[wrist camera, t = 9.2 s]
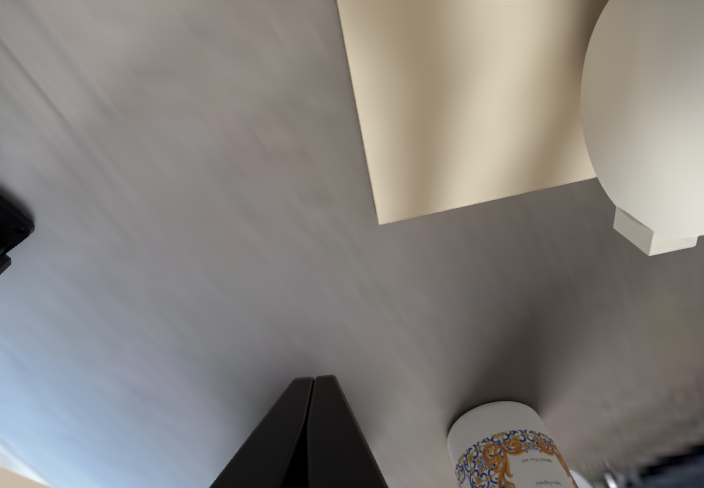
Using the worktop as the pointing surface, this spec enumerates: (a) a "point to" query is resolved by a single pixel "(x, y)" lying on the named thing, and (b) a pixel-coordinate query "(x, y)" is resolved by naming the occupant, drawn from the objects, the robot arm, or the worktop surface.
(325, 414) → the robot arm
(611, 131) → the white oval slab
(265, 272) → the worktop surface
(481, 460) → the bath foam
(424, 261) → the worktop surface
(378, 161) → the birch board
